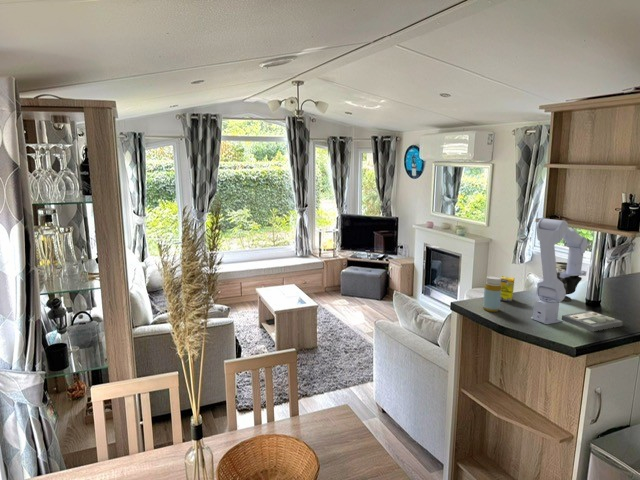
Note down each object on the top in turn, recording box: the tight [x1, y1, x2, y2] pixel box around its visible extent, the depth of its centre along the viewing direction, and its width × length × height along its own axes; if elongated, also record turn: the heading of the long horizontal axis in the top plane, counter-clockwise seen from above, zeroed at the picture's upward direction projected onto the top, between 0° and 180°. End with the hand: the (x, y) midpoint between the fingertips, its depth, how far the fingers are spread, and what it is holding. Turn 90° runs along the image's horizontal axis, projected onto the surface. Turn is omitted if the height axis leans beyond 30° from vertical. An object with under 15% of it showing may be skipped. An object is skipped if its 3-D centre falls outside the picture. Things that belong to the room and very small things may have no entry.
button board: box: [561, 310, 623, 332], centre depth 185 cm, size 18×14×2 cm
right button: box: [604, 315, 616, 321], centre depth 185 cm, size 4×4×2 cm
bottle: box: [482, 275, 501, 313], centre depth 199 cm, size 7×7×15 cm
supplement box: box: [500, 276, 515, 303], centre depth 214 cm, size 6×6×11 cm
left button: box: [582, 320, 596, 325], centre depth 180 cm, size 4×4×2 cm
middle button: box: [592, 316, 606, 323], centre depth 182 cm, size 4×4×2 cm
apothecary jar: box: [556, 261, 577, 302], centre depth 217 cm, size 12×12×18 cm
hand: (570, 292), depth 197 cm, fingers closed
